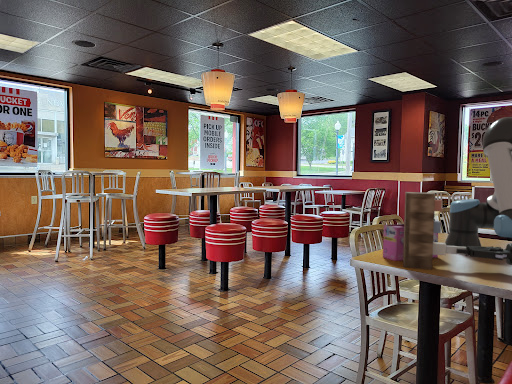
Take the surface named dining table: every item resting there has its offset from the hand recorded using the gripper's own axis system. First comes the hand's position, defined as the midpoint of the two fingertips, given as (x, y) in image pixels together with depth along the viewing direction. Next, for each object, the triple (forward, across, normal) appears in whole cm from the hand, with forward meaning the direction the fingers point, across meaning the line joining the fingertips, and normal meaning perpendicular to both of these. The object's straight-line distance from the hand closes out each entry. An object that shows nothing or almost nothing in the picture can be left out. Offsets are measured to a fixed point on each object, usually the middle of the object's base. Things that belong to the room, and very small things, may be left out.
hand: (446, 249), depth 140 cm
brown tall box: (+10, 0, -7) cm, 12 cm away
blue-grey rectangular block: (+7, 0, +6) cm, 9 cm away
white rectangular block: (+5, 0, -2) cm, 5 cm away
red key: (+7, 0, +14) cm, 16 cm away
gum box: (+11, +15, -7) cm, 20 cm away
